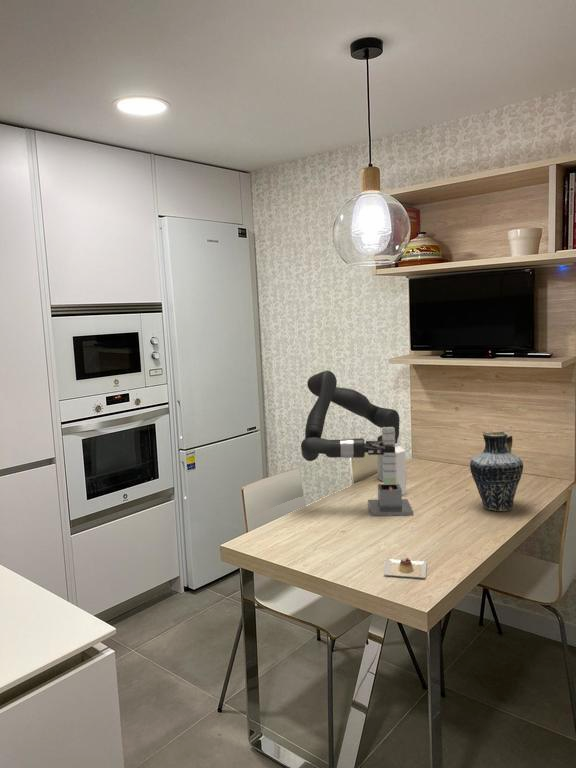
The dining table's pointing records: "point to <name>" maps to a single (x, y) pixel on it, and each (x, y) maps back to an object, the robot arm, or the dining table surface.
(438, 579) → the dining table surface
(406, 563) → the dessert
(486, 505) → the jug
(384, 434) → the column
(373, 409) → the robot arm
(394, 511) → the stand
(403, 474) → the milk
